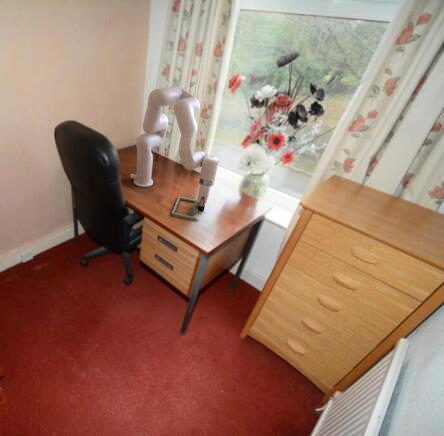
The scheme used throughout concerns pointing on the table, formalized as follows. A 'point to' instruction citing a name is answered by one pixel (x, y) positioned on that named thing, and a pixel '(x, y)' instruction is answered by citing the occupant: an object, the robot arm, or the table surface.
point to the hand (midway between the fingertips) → (200, 210)
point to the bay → (182, 214)
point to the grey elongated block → (194, 208)
